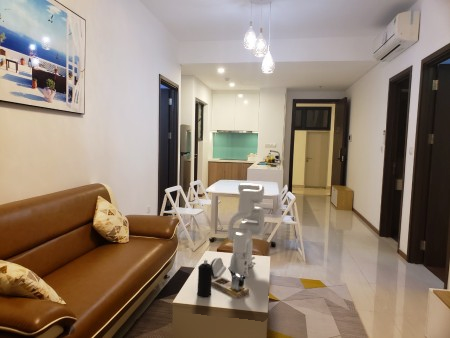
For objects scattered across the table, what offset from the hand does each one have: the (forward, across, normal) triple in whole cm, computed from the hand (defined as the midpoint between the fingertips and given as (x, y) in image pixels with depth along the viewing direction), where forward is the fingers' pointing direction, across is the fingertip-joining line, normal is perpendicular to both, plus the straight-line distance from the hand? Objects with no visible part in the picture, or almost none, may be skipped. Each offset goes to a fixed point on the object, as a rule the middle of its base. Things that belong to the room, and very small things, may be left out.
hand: (237, 283), depth 178 cm
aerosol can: (+6, +12, +15) cm, 20 cm away
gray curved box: (+6, +26, -11) cm, 29 cm away
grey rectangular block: (+4, 0, 0) cm, 4 cm away
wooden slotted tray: (+5, +6, 0) cm, 8 cm away
